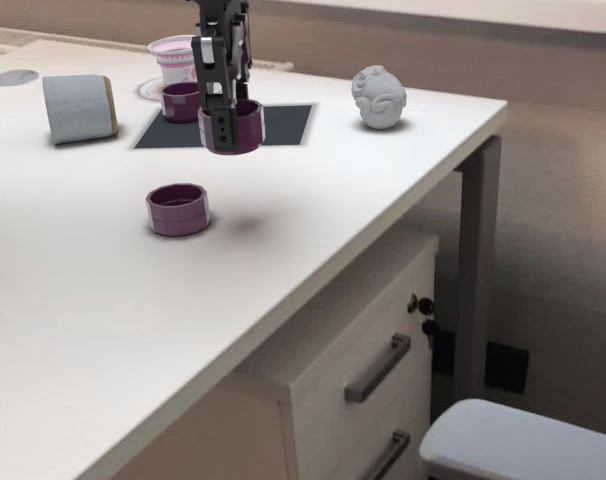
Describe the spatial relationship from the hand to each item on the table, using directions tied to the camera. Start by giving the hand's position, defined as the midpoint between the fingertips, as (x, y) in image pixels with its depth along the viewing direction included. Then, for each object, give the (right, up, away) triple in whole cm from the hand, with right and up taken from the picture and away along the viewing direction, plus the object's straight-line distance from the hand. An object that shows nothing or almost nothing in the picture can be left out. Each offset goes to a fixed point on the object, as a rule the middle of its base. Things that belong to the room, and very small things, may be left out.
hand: (233, 136), depth 82 cm
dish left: (-8, +14, +31) cm, 35 cm away
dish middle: (-6, -7, +6) cm, 11 cm away
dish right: (0, -1, +1) cm, 1 cm away
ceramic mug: (-21, +11, +29) cm, 38 cm away
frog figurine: (+16, +10, +25) cm, 31 cm away
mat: (-3, +11, +28) cm, 30 cm away
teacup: (-10, +21, +41) cm, 47 cm away
